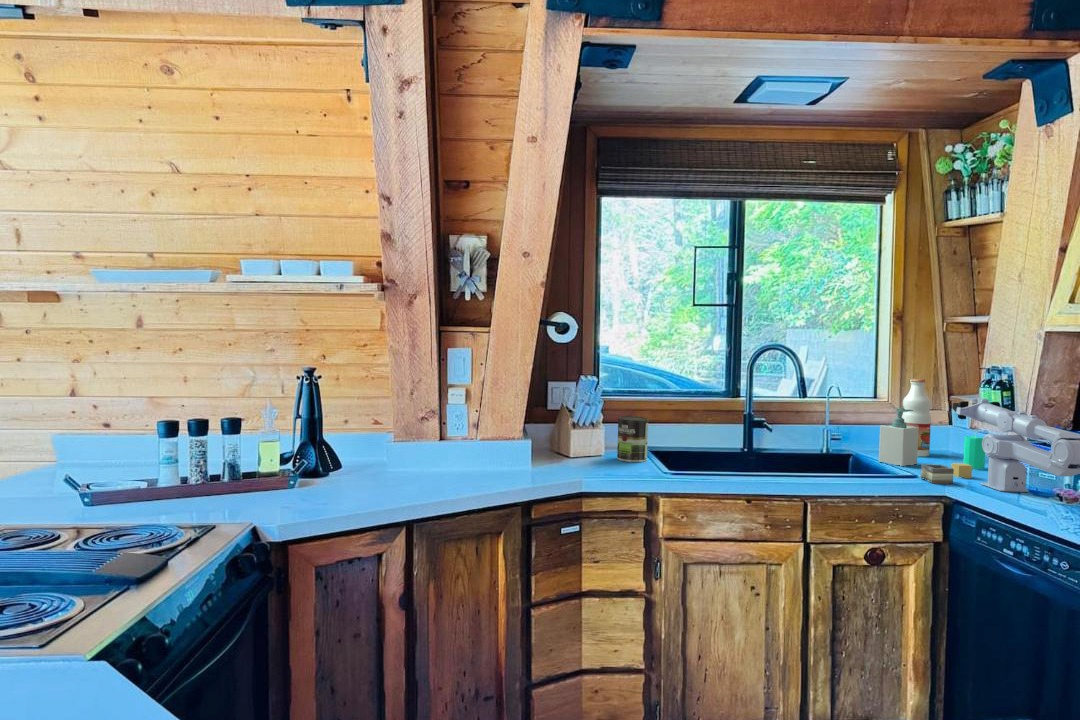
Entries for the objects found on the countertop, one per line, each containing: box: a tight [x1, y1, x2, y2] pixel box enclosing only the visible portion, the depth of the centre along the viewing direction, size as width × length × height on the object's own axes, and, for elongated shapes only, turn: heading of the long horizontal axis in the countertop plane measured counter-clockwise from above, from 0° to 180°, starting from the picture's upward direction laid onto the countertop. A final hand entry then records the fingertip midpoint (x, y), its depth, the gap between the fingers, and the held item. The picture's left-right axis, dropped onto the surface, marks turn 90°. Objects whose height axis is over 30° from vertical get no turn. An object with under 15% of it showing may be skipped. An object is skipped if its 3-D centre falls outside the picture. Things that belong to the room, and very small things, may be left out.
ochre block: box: [950, 462, 973, 479], centre depth 214 cm, size 4×4×4 cm
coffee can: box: [616, 416, 650, 463], centre depth 232 cm, size 10×10×14 cm
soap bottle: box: [878, 407, 919, 467], centre depth 234 cm, size 9×9×19 cm
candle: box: [962, 432, 986, 470], centre depth 228 cm, size 6×6×12 cm
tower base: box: [920, 463, 954, 485], centre depth 206 cm, size 6×6×4 cm
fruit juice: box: [902, 378, 932, 458], centre depth 252 cm, size 9×9×28 cm
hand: (966, 406), depth 217 cm, fingers open, 7 cm apart
